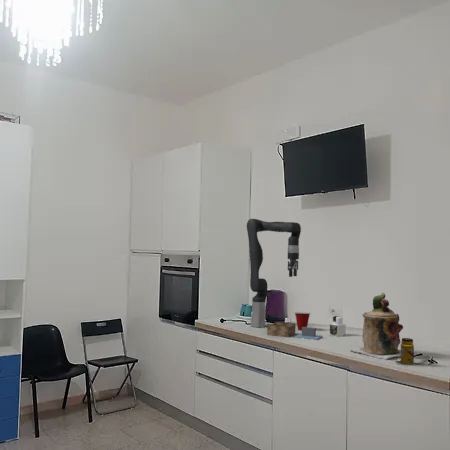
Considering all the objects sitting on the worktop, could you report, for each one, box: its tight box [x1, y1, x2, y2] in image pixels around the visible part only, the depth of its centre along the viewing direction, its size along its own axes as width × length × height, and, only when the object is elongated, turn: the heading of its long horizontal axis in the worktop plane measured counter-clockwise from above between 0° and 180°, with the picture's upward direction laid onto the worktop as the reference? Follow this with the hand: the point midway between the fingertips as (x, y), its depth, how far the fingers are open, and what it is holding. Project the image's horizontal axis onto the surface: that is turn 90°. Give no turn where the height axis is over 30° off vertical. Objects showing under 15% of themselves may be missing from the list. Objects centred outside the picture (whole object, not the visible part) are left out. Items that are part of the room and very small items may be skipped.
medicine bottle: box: [329, 315, 347, 337], centre depth 318 cm, size 7×7×12 cm
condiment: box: [394, 337, 416, 366], centre depth 243 cm, size 7×8×12 cm
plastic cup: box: [294, 311, 311, 331], centre depth 337 cm, size 11×11×12 cm
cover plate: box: [294, 326, 323, 341], centre depth 308 cm, size 14×12×6 cm
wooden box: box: [266, 321, 296, 338], centre depth 316 cm, size 14×13×7 cm
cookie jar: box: [349, 292, 404, 360], centre depth 266 cm, size 25×25×32 cm
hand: (292, 276), depth 332 cm, fingers open, 8 cm apart
